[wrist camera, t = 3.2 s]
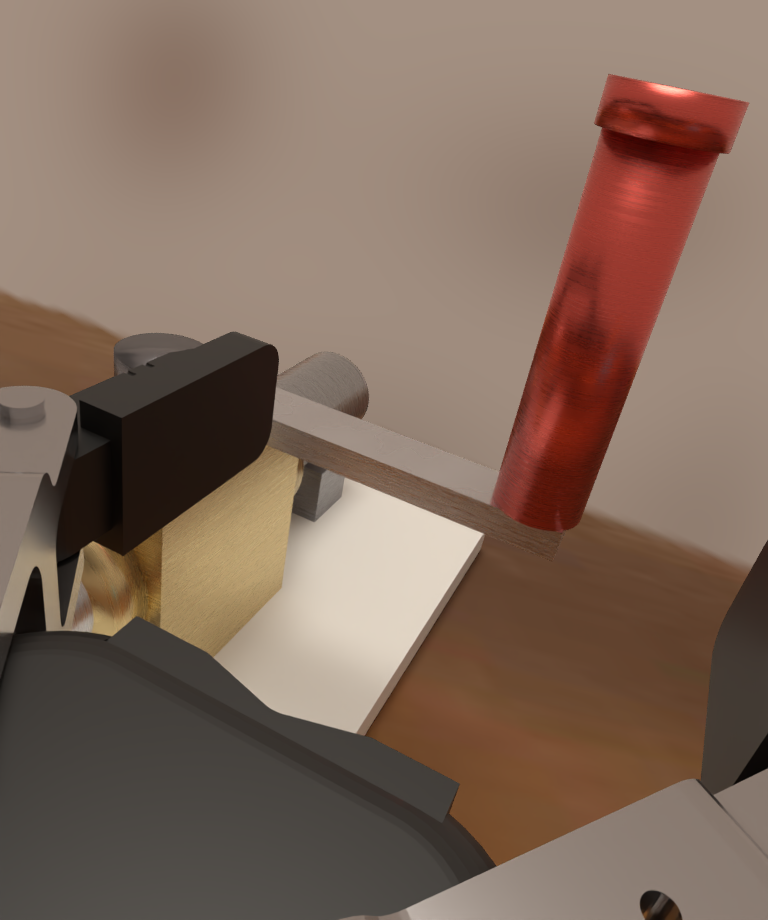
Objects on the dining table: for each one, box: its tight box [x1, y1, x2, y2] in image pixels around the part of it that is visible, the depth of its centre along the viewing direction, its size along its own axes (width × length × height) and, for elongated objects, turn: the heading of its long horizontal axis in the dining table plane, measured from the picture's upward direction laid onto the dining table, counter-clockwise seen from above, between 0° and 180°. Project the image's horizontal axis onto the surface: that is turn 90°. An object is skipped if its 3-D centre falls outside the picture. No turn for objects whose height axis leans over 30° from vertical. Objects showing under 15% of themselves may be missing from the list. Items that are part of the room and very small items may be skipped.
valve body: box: [71, 352, 369, 657], centre depth 29 cm, size 7×28×10 cm, turn 155°
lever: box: [114, 74, 749, 561], centre depth 21 cm, size 17×3×12 cm, turn 65°
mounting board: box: [213, 478, 485, 736], centre depth 32 cm, size 20×29×2 cm
